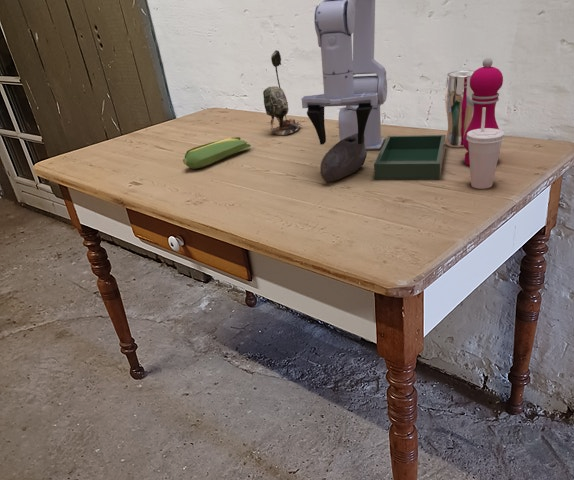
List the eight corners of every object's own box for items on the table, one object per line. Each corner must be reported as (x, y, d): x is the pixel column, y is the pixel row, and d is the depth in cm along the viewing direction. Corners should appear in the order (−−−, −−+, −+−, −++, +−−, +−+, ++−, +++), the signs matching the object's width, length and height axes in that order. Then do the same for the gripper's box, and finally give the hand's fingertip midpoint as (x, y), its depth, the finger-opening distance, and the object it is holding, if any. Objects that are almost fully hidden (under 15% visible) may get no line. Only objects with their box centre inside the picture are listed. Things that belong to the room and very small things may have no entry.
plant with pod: (258, 135, 151) (247, 55, 141) (288, 124, 158) (281, 47, 148) (278, 139, 146) (269, 56, 136) (309, 128, 152) (303, 48, 142)
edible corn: (180, 170, 131) (176, 151, 129) (244, 147, 143) (242, 128, 141) (193, 174, 128) (189, 154, 126) (258, 149, 140) (256, 131, 137)
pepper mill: (501, 167, 112) (510, 59, 102) (462, 168, 114) (468, 62, 104) (497, 156, 118) (506, 53, 108) (461, 157, 120) (466, 56, 110)
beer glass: (479, 146, 125) (484, 74, 117) (447, 149, 125) (450, 78, 118) (471, 137, 131) (475, 68, 123) (440, 140, 131) (442, 72, 124)
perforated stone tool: (332, 189, 111) (330, 154, 108) (311, 185, 114) (308, 151, 111) (374, 165, 121) (373, 133, 117) (353, 162, 124) (351, 130, 120)
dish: (374, 179, 114) (374, 163, 112) (387, 149, 129) (387, 135, 128) (439, 179, 110) (440, 163, 108) (445, 149, 125) (445, 134, 124)
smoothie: (472, 177, 109) (477, 102, 102) (505, 182, 105) (513, 104, 98) (457, 188, 105) (461, 111, 98) (491, 193, 101) (498, 113, 94)
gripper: (295, 78, 106) (301, 149, 113) (372, 73, 102) (374, 148, 108) (304, 70, 112) (310, 139, 118) (378, 66, 107) (380, 137, 114)
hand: (341, 142), depth 114 cm, fingers open, 7 cm apart
